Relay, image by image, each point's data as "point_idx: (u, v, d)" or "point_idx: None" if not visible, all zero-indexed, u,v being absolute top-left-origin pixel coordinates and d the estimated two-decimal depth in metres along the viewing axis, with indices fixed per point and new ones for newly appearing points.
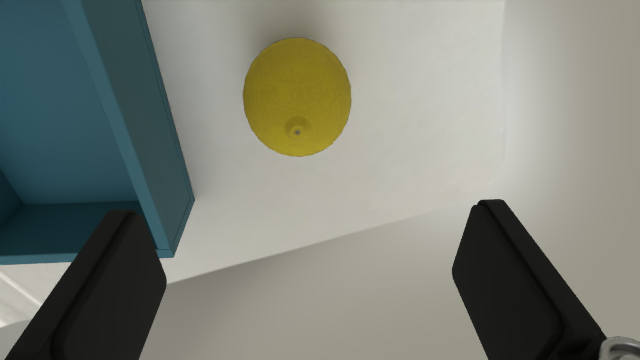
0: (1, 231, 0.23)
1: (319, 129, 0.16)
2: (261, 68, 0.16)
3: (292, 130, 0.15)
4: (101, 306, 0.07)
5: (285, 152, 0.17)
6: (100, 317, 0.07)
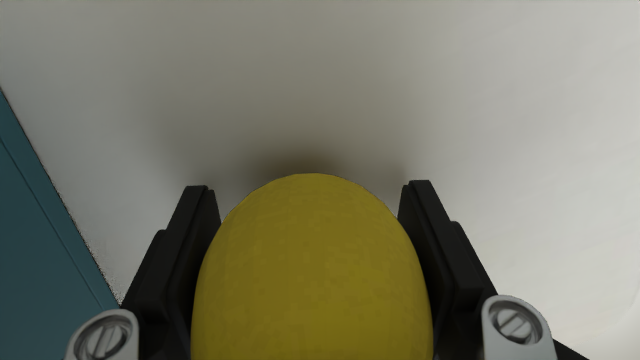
0: None
1: None
2: (225, 304, 0.06)
3: None
4: (194, 267, 0.08)
5: None
6: (194, 277, 0.08)
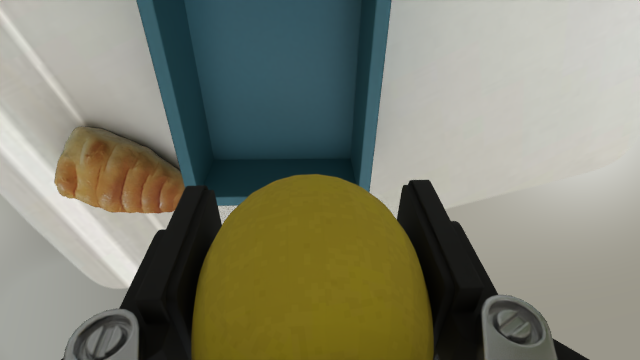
0: (209, 178, 0.26)
1: None
2: (226, 305, 0.06)
3: None
4: (194, 267, 0.08)
5: None
6: (194, 277, 0.08)
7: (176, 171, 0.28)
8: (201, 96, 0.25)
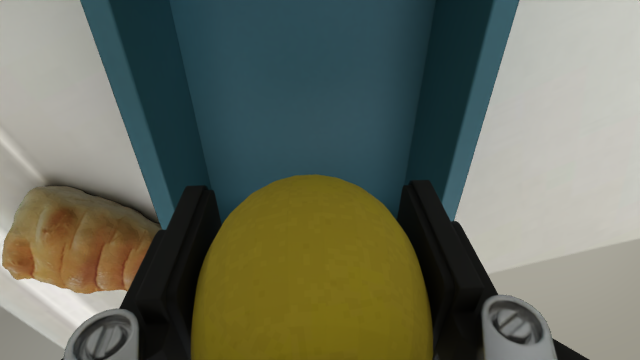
0: None
1: None
2: (226, 306, 0.06)
3: None
4: (194, 267, 0.08)
5: None
6: (194, 277, 0.08)
7: None
8: (201, 147, 0.18)
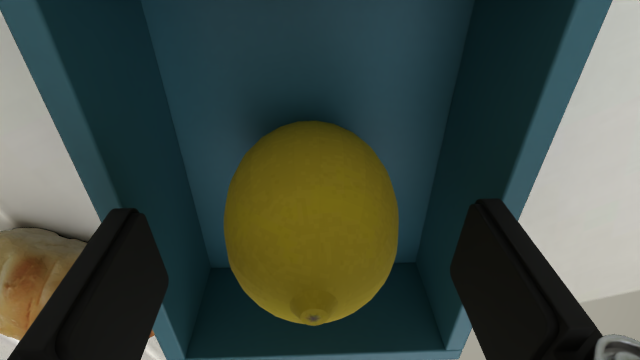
0: (204, 312, 0.16)
1: (351, 302, 0.09)
2: (252, 192, 0.09)
3: (303, 314, 0.08)
4: (105, 304, 0.07)
5: None
6: (104, 315, 0.07)
7: None
8: (189, 188, 0.16)
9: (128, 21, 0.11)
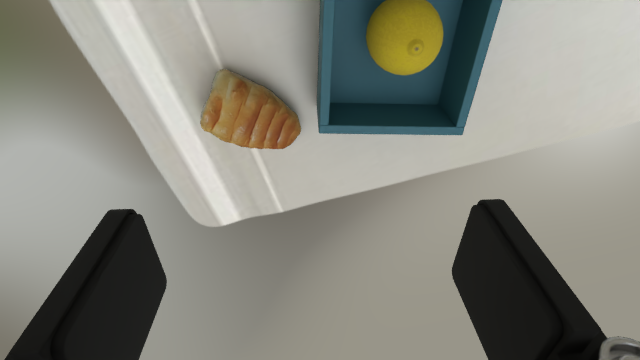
0: (330, 114, 0.31)
1: (428, 49, 0.24)
2: (391, 9, 0.24)
3: (413, 47, 0.23)
4: (101, 306, 0.07)
5: (399, 68, 0.25)
6: (100, 317, 0.07)
7: None
8: None
9: None
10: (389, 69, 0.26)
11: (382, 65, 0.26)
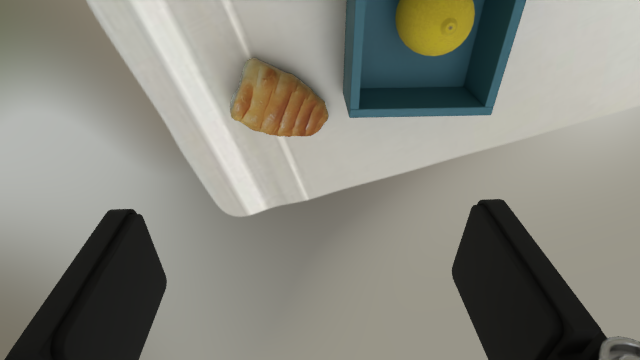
0: (358, 99, 0.32)
1: (461, 28, 0.24)
2: None
3: (447, 26, 0.24)
4: (101, 306, 0.07)
5: (432, 48, 0.25)
6: (100, 317, 0.07)
7: (320, 98, 0.34)
8: None
9: None
10: (421, 50, 0.26)
11: (413, 46, 0.26)
